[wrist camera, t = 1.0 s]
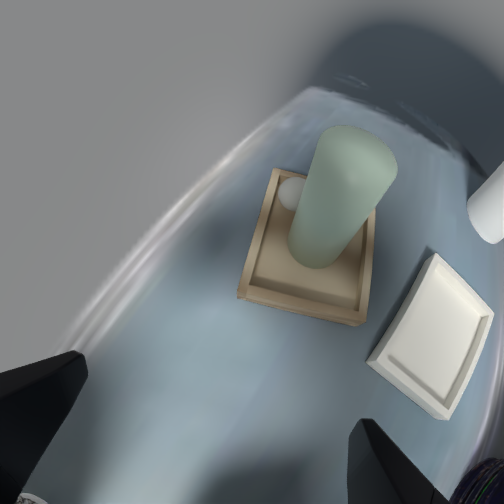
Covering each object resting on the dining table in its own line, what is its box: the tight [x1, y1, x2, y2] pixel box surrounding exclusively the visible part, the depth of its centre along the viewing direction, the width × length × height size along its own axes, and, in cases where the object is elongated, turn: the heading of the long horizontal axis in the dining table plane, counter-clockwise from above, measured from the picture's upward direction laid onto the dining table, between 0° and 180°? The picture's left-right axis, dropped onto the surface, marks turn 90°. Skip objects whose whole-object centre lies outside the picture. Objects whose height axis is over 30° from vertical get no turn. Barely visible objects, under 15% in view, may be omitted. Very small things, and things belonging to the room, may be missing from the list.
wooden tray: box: [237, 168, 375, 327], centre depth 24 cm, size 12×10×2 cm
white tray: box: [365, 253, 494, 421], centre depth 20 cm, size 12×10×2 cm
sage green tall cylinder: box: [287, 125, 397, 269], centre depth 19 cm, size 5×5×11 cm
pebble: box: [278, 177, 306, 212], centre depth 24 cm, size 3×3×3 cm
